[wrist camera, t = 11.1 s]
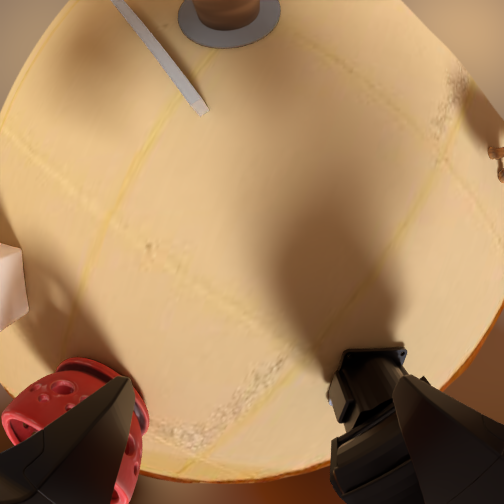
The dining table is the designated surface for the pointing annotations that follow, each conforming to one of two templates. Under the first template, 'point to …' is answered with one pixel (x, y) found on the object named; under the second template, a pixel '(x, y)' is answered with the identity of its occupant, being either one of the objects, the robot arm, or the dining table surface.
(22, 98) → the dining table surface
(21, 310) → the medicine bottle
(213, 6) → the pepper mill
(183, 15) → the resting pad
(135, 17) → the low wall
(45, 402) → the plant pot
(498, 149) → the lion figurine
